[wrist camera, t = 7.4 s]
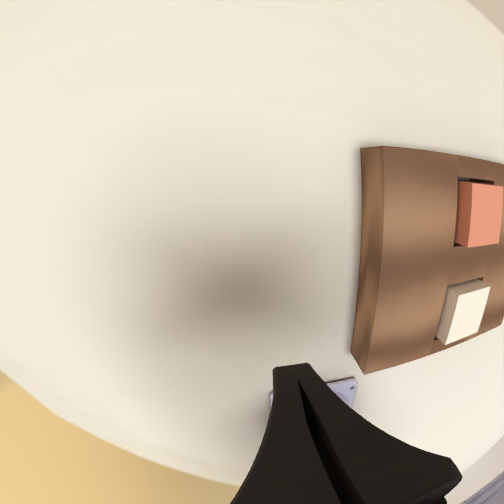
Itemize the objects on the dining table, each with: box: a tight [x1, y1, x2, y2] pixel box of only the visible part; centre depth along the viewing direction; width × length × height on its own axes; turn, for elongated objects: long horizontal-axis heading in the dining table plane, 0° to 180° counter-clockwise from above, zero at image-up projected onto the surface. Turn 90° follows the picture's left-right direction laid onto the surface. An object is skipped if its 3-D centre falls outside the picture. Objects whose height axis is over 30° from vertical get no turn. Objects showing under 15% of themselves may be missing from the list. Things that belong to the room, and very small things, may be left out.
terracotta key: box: [454, 180, 503, 248], centre depth 16 cm, size 4×4×4 cm
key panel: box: [351, 146, 504, 374], centre depth 18 cm, size 16×18×3 cm
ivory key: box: [435, 278, 490, 345], centre depth 18 cm, size 4×4×4 cm
